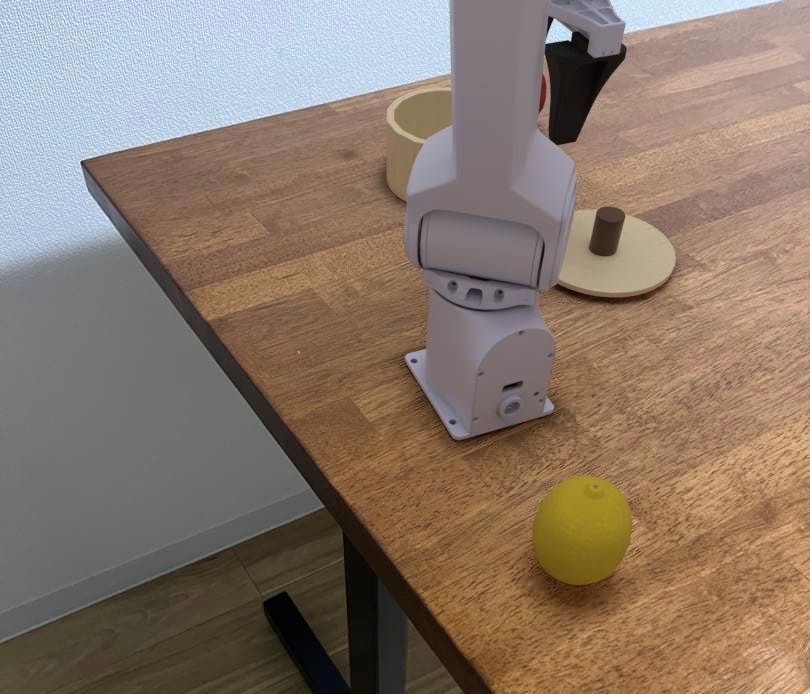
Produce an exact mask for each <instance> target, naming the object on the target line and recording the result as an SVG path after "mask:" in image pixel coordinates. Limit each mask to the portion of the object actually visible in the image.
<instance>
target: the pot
mask: <svg viewBox="0 0 810 694" xmlns="http://www.w3.org/2000/svg"><path fill="white" fill-rule="evenodd" d="M451 125H452V97H451V86H433V87H428V88H422V89H415V90H413V91H410V92H407V93H406V94H403V95H401V96H399V97H397V98H395V100H394V101H392V103H390V105H389V106H388V107H387V108H386V182H387V186H388V188H389V189H390V190H391V192H392V193H393V194H394V195H395V196H396V197H397V198H398V199H400V200H402V201H403V202H405V203H407V199H406V191H407V186H408V182H409V178H410V175H411V171H412V168H413V165H414V162H415V160H416V157H417V155H418V153H419V151H420V150H421V148H422V146H423V144H424V143H425V141H426V139H427V138H429V137H430V136H432V135H434V134H435V133H437V132H439V131H441V130H443V129H445V128H447V127H449V126H451Z"/></svg>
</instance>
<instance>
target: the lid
mask: <svg viewBox="0 0 810 694" xmlns="http://www.w3.org/2000/svg"><path fill="white" fill-rule="evenodd" d="M676 255H677V254H676V251H675V248H674V246H673V243H671V241H670V240H669V238H667V236H666V235H665V234H664V233H663V232H661V230H659V229H658V228H657V227H655V226H653V225H652V224H650V223H648V222H646V221H644V220H642V219H640V218H638V217H634V216H633V215H629V214H626V213H625V212H624V210H622V209H621V208H618V207H616V206H602V207H599V208H598V209H575V211H574V216H573V221H572V226H571V231H570V236H569V240H568V245H567V249H566V253H565V258H564V262H563V266H562V270H561V273H560V277H559V280H558V283H557V285H560V286H562V287H563V288H566V289H568V290H571V291H573V292H577V293H581V294H584V295H589V296H594V297H602V298H627V297H634V296H640V295H643V294H646V293H649V292H651V291H653V290H656V289H658V288H659V287H661V286H662V285H664V284H665V283H666V282H667V281H668V280H669V279H670V278H671V276H672V274H673V272H674V269H675V268H676V267H675V266H676V262H677V256H676Z"/></svg>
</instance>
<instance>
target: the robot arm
mask: <svg viewBox="0 0 810 694" xmlns="http://www.w3.org/2000/svg"><path fill="white" fill-rule="evenodd" d="M448 5H449V9H448V10H449V47H450V48H449V49H450V50H449V51H450V85H451V86H450V87H451V97H452V125H451V126H449V127H447V128H445V129H443V130H441V131H439V132H437V133H435V134H434V135H432V136H430V137H429V138H427V139H426V141H425V143H424V144H423V146H422V148H421V150H420V151H419V153H418V155H417V157H416V160H415V162H414V165H413V168H412V171H411V175H410V178H409V182H408V186H407V191H406V199H407V202H406V211H405V219H404V229H403V245H404V246H403V247H404V252H405V255H406V257H407V259H408V260H409V263H410V265H411V267H412V268H414V269H420V270H422V278H421V279H422V280H421V281H422V283H421V284H422V286H423V287H427V288H428V302H427V318H426V319H427V321H426V341H425V349H420V350H416V351H412V352H409V353H407V354H405V357H404V362H405V364H406V366H407V367H408V369H409V370H410V372H411V374H412V375H413V377H414V378H415V380H416V381H417V384H418V385H419V387H420V388H421V390H422V391H423V393H424V395H425V396H426V398H427V399H428V401H429V402H430V404H431V406H432V407H433V409H434V411H435V412H436V414H437V415H438V417H439V419H440V421H441V422H442V423H443V425H444V426H445V428H446V430H447V432H448V433H449V435H450V436H451V438H452V439H453V440H455V441H462V440H466V439H469V438H472V437H476V436H479V435H483V434H487V433H490V432H494V431H497V430H500V429H504V428H507V427H510V426H514V425H518V424H521V423H525V422H527V421H531V420H535V419H538V418H541V417H545V416H548V415H551V414H553V412H554V410H555V405H554V404H553V403H552V401H551V400H550V398H549V397H548V396H547V395H548V390H549V387H550V382H551V377H552V372H553V367H554V363H555V358H556V351H557V345H556V340H555V337H554V336H553V334H552V332H551V330H550V329H549V328H548V326H547V324H546V322H545V319H544V317H543V314H542V311H541V307H540V301H539V291H541V292H544V293H547V292H549V291H550V289H551V288H553V287H555V286H556V285H558V280H559V277H560V273H561V270H562V266H563V262H564V258H565V253H566V249H567V245H568V240H569V236H570V231H571V226H572V221H573V216H574V211H575V210H576V204H577V195H576V189H577V188H576V187H577V181H578V175H577V173H576V172H575V168H576V162H575V161H574V159H572V158H571V157H570V156H569V154H567V153H566V152H565V151H563V150H562V149H561V148H560V147H559V146H561V145H567V144H571V143H576V142H577V141H578V138H579V136H580V134H581V132H582V130H583V127H584V125H585V123H586V120H587V118H588V116H589V114H590V112H591V110H592V107H593V106H594V103H595V102H596V100H597V98H598V96H599V95H600V93H601V92H602V90H603V88H604V86H605V85H606V84H607V82H608V81H609V79H610V78H611V77H612V75H613V74H614V73H615V72H616V71H617V69H618V68H619V67H620V65H621V64H623V62H624V61H625V60H626V56H627V51H628V48H627V46H626V45H625V43H623V39H624V33H625V29H626V24H627V22H626V21H625V20H623V19H622V18H621V17H620V16H619V14H617V13H616V10H615V8H614V6H613V4H612V2H611V0H448ZM555 20H556V21H557V22H559V24H561V25H562V26H563V27H565V28H566V29H567V30H569V31H570V32H571V37H570V40H569V39H566V40H561V41H554V42H548V43H546V42H547V39H548V35H549V32H550V29H551V27H552V25H553V22H554V21H555ZM544 61H546V65H547V71H548V77H549V87H550V89H549V92H550V93H549V94H550V95H549V96H550V97H549V98H550V99H549V100H550V101H549V102H550V103H549V115H548V130H547V131H548V137H547V136H546V135H545V134H544V133H543V132H542V131H541V130H540V129H539V127H538V123H539V115H538V113H539V103H540V93H541V83H542V74H544V64H545V63H544ZM539 114H540V113H539Z"/></svg>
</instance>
